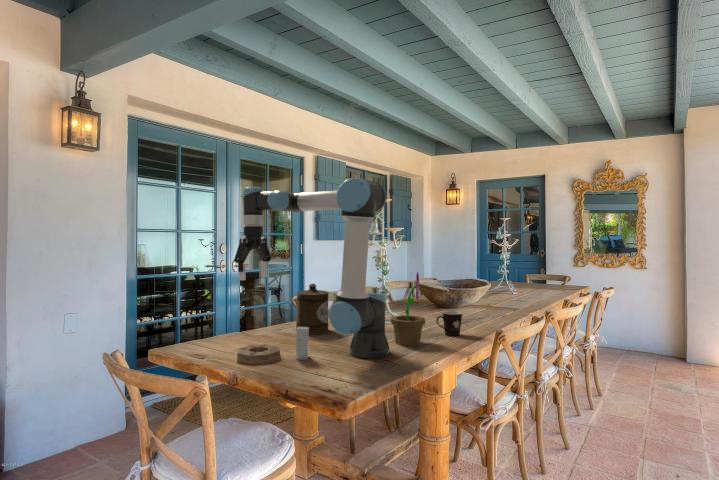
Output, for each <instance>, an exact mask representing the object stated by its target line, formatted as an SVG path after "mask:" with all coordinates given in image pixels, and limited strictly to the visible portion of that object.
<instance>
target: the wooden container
mask: <svg viewBox="0 0 719 480" xmlns="http://www.w3.org/2000/svg"><path fill="white" fill-rule="evenodd" d="M308 287H309V289H308V290H306V289H305V290H299V291H297V292H296V315H295V317H296V318H295V319H296V321H295V322H296V323H295V325H296V327H295V331H296V330H297V328H298V327H309V336H310V335H321V334H325V333H328V332H329V291H327V290H318V289H317V285H316V283H310V284H309V285H308Z"/></svg>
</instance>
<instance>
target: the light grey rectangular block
mask: <svg viewBox="0 0 719 480" xmlns="http://www.w3.org/2000/svg"><path fill="white" fill-rule="evenodd" d="M295 331H296V345H295V346H296V347H295V348H296V350H295V351H296V355H295V356H296V359H295V360H309V356H310V355H309V354H310V350H309V349H310V344H309V343H310V340H309V339H310V335H309V327H298V328H297V330H296V329H295Z"/></svg>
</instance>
